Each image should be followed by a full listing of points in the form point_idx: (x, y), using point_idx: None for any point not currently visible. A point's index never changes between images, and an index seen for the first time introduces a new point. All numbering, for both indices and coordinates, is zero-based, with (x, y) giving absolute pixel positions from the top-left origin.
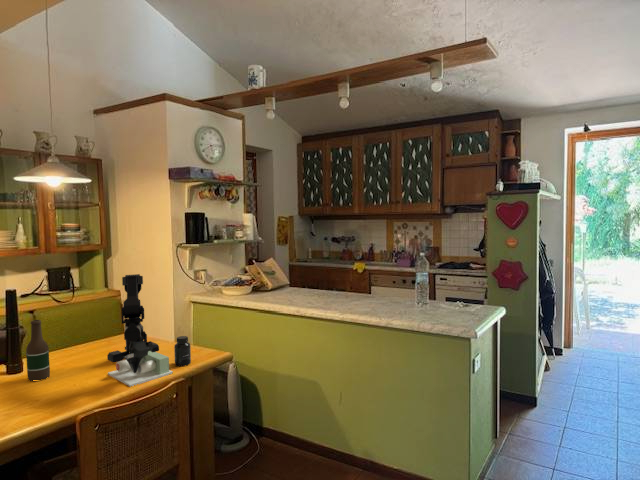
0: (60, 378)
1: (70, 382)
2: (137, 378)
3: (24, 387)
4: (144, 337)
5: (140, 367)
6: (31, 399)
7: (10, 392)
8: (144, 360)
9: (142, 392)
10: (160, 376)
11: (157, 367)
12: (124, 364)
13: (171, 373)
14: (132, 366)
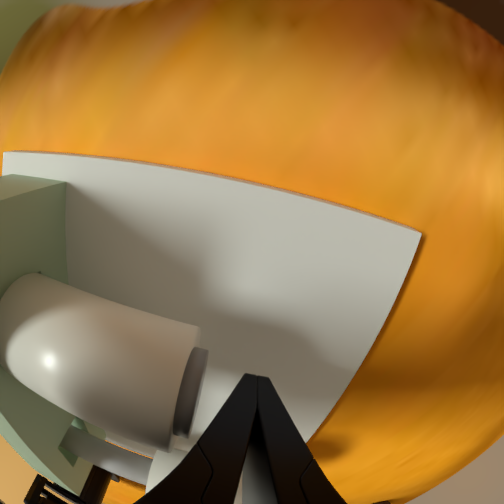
0: (359, 499)
1: (387, 477)
2: (258, 309)
3: (425, 486)
4: (34, 501)
5: (187, 389)
6: (501, 424)
7: (451, 474)
8: (75, 435)
9: (433, 29)
10: (84, 155)
11: (24, 255)
12: (236, 497)
13: (18, 151)
14: (311, 456)
